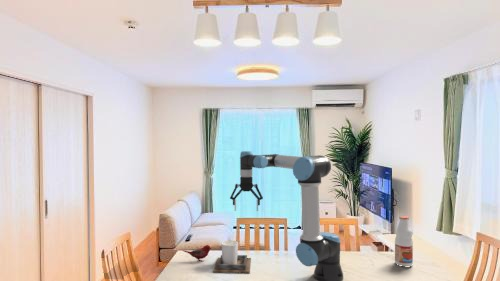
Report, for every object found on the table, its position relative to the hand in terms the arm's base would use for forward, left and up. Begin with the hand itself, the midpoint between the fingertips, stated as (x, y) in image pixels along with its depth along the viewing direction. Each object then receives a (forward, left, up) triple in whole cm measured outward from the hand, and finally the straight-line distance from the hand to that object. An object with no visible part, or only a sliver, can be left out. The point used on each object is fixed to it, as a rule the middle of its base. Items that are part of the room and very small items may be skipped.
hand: (246, 210), depth 205 cm
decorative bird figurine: (+29, +9, -29) cm, 42 cm away
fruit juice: (-92, +9, -29) cm, 97 cm away
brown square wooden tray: (+7, +15, -29) cm, 33 cm away
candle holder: (+9, +14, -28) cm, 32 cm away
